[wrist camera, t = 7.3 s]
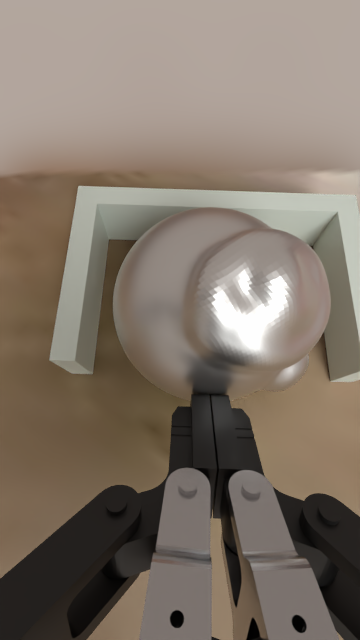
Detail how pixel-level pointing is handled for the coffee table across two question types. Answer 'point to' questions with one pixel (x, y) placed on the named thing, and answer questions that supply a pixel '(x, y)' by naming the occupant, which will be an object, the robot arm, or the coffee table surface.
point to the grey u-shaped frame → (157, 204)
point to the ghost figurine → (220, 304)
